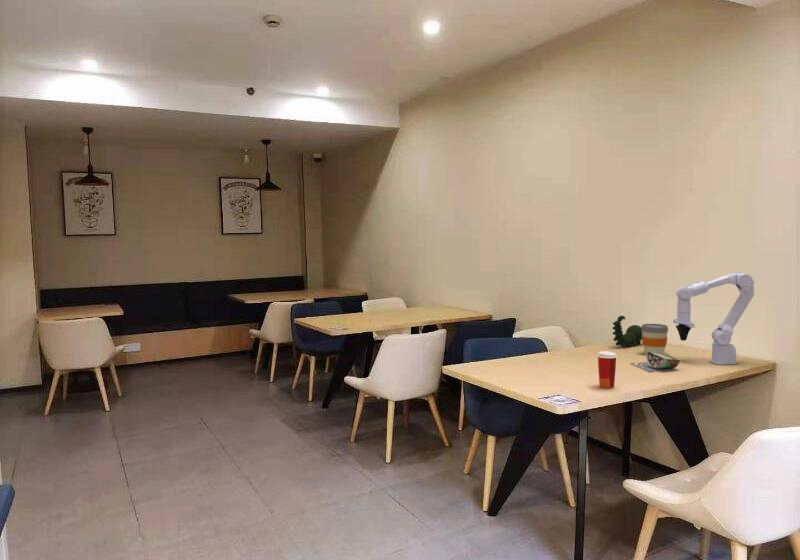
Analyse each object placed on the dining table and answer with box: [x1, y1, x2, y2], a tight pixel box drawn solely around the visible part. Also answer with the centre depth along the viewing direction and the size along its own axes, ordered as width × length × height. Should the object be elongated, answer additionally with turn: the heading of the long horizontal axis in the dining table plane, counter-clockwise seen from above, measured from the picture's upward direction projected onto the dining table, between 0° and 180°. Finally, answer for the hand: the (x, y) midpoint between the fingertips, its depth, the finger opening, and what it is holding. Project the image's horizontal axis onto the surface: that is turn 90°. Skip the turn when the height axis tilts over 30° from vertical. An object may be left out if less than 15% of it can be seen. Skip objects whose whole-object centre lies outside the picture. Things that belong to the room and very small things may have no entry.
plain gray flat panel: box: [630, 361, 677, 373], centre depth 260 cm, size 13×17×1 cm
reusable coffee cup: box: [641, 323, 669, 355], centre depth 285 cm, size 13×13×15 cm
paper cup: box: [596, 350, 618, 389], centre depth 229 cm, size 8×8×14 cm
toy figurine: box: [612, 315, 642, 348], centre depth 308 cm, size 9×19×25 cm
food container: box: [645, 351, 681, 369], centre depth 256 cm, size 12×6×10 cm
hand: (683, 340), depth 269 cm, fingers closed
